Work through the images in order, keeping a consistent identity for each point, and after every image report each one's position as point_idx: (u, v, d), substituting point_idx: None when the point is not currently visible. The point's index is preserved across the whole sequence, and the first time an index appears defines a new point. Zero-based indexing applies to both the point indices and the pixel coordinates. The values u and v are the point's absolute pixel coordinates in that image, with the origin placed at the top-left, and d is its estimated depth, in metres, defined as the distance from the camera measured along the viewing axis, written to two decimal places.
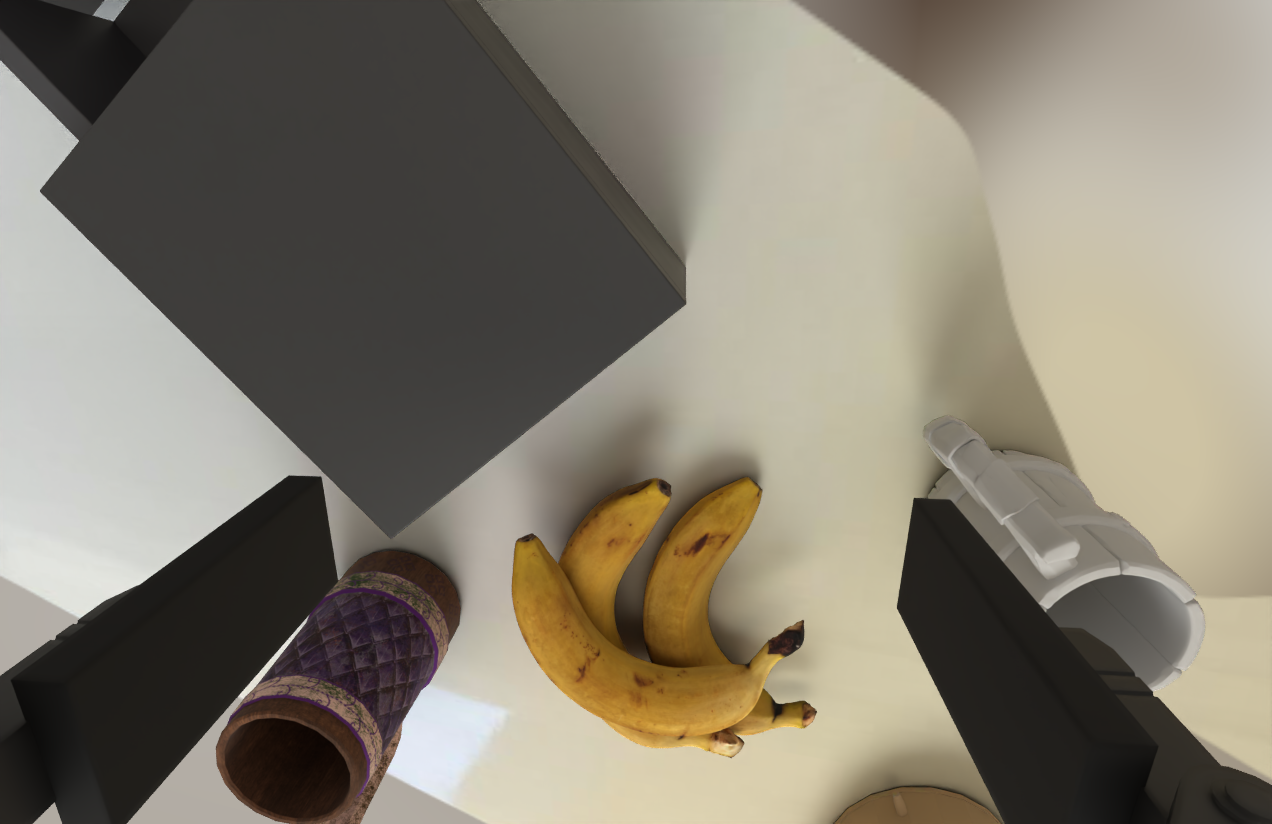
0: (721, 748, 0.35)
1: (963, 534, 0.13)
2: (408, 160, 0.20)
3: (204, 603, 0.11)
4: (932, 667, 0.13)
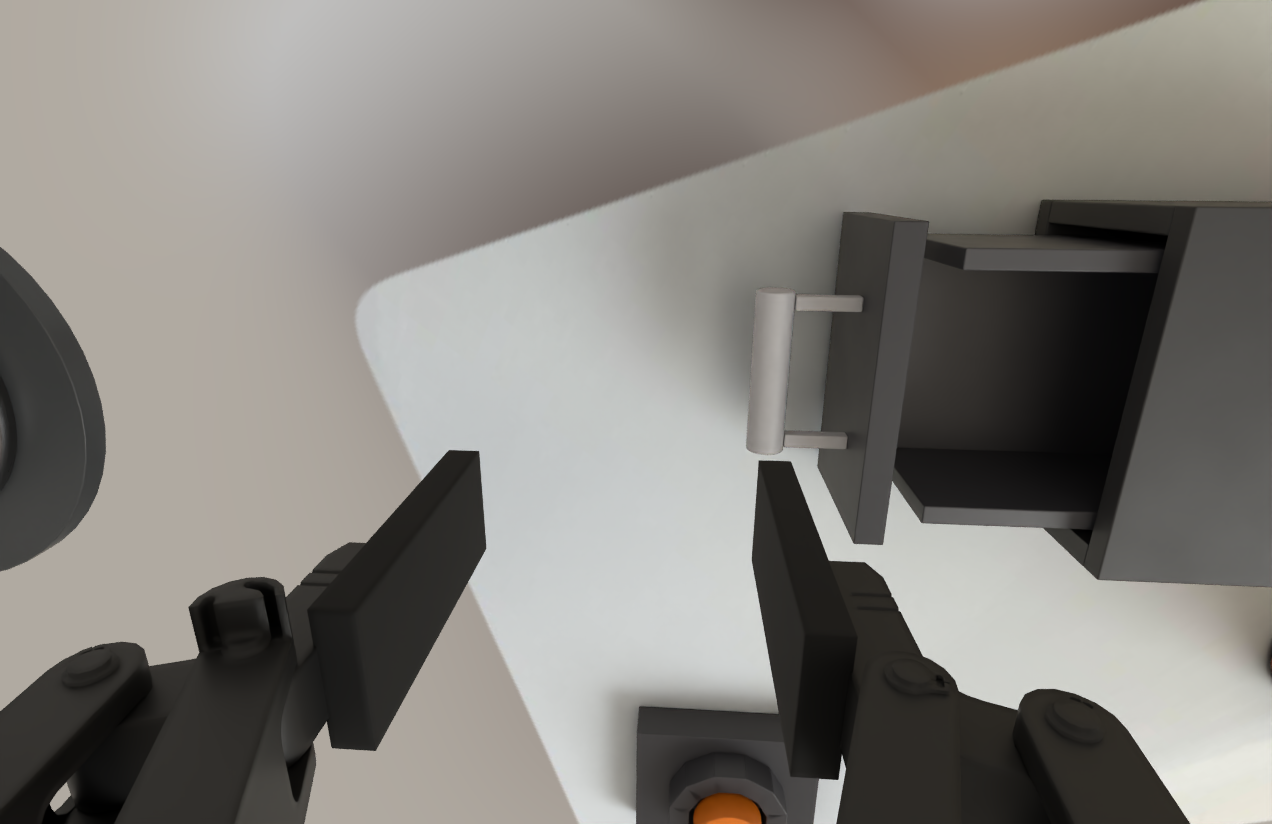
0: None
1: (787, 487, 0.14)
2: None
3: (420, 556, 0.13)
4: (762, 605, 0.15)
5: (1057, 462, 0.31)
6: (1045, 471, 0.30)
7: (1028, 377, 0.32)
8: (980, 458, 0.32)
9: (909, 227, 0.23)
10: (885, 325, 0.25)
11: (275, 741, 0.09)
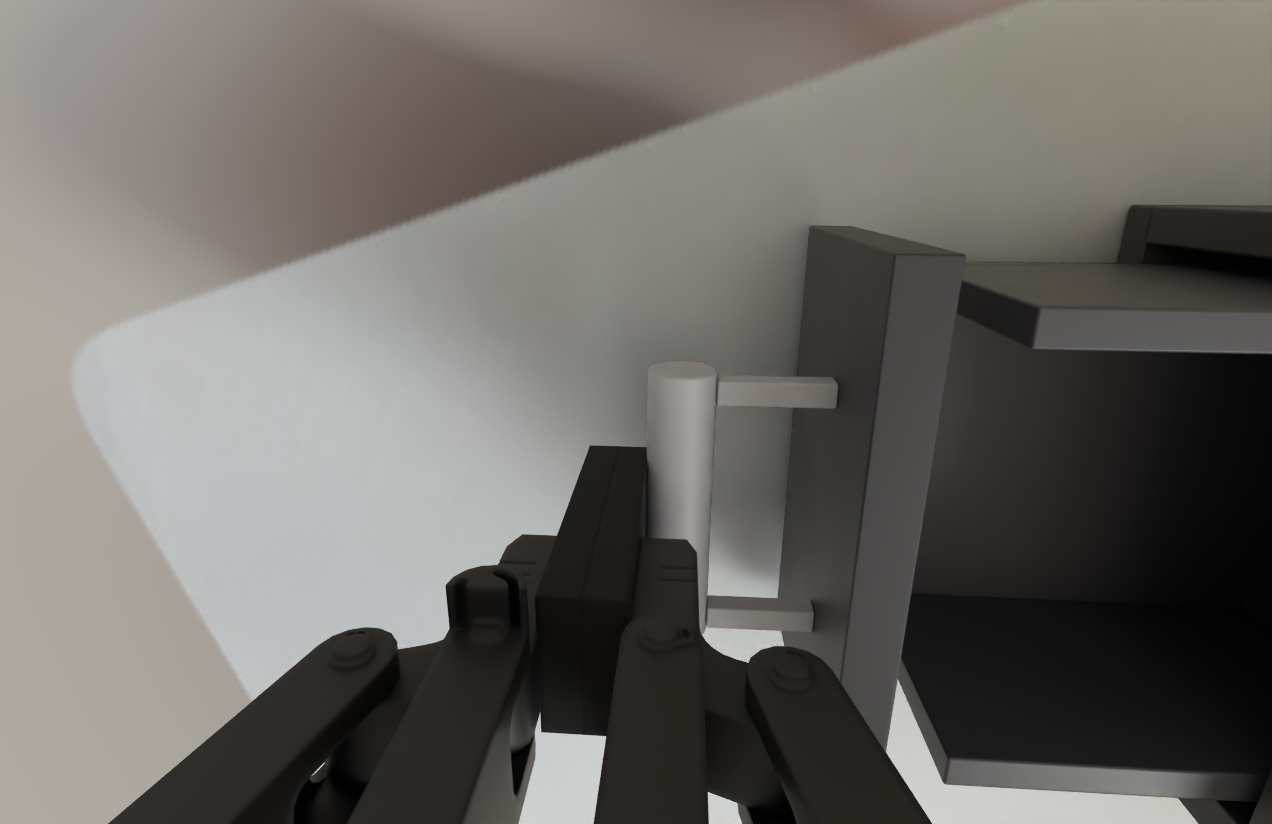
0: None
1: (632, 471, 0.15)
2: None
3: None
4: None
5: (1157, 629, 0.19)
6: (1143, 653, 0.18)
7: (1109, 491, 0.20)
8: (1032, 620, 0.20)
9: (925, 266, 0.11)
10: (876, 455, 0.12)
11: (505, 735, 0.09)
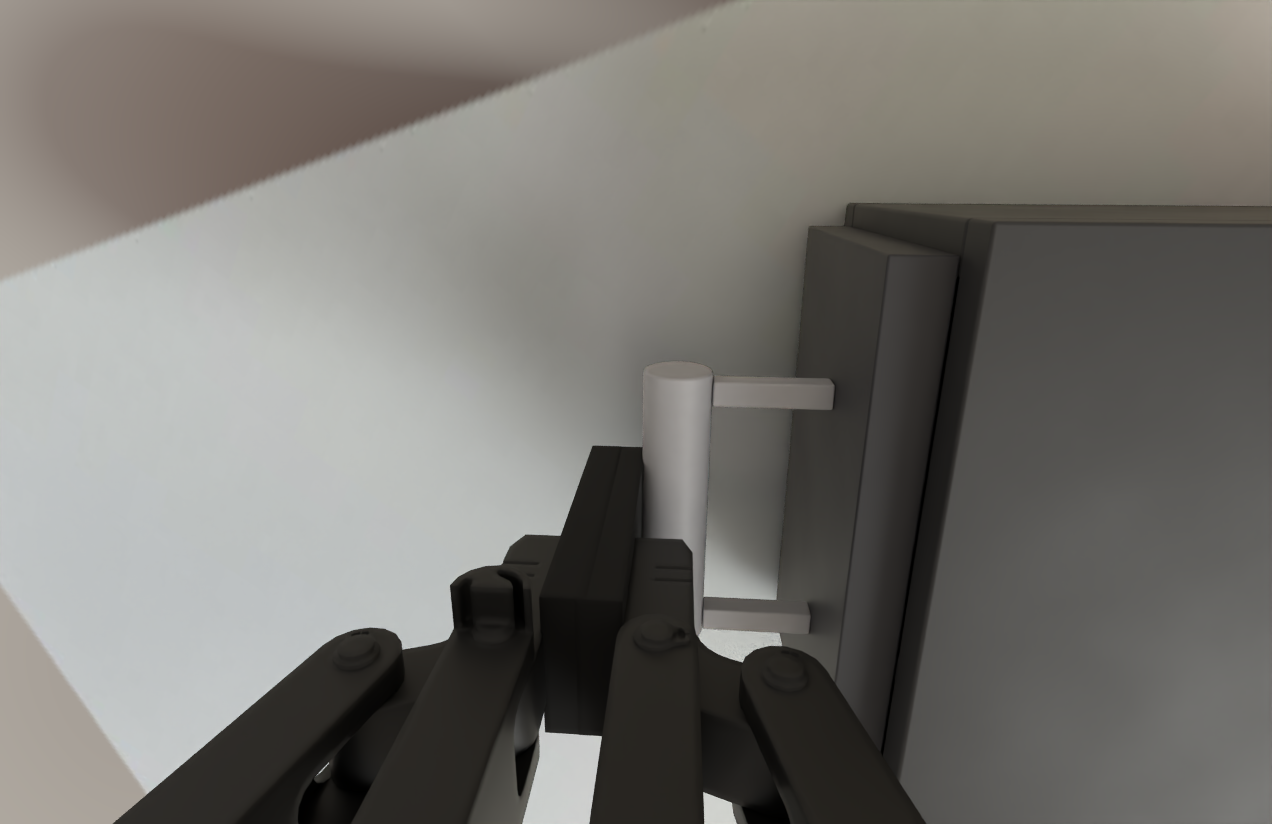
0: None
1: (628, 471, 0.15)
2: None
3: None
4: None
5: None
6: None
7: None
8: None
9: (919, 267, 0.11)
10: (870, 457, 0.12)
11: (509, 736, 0.09)
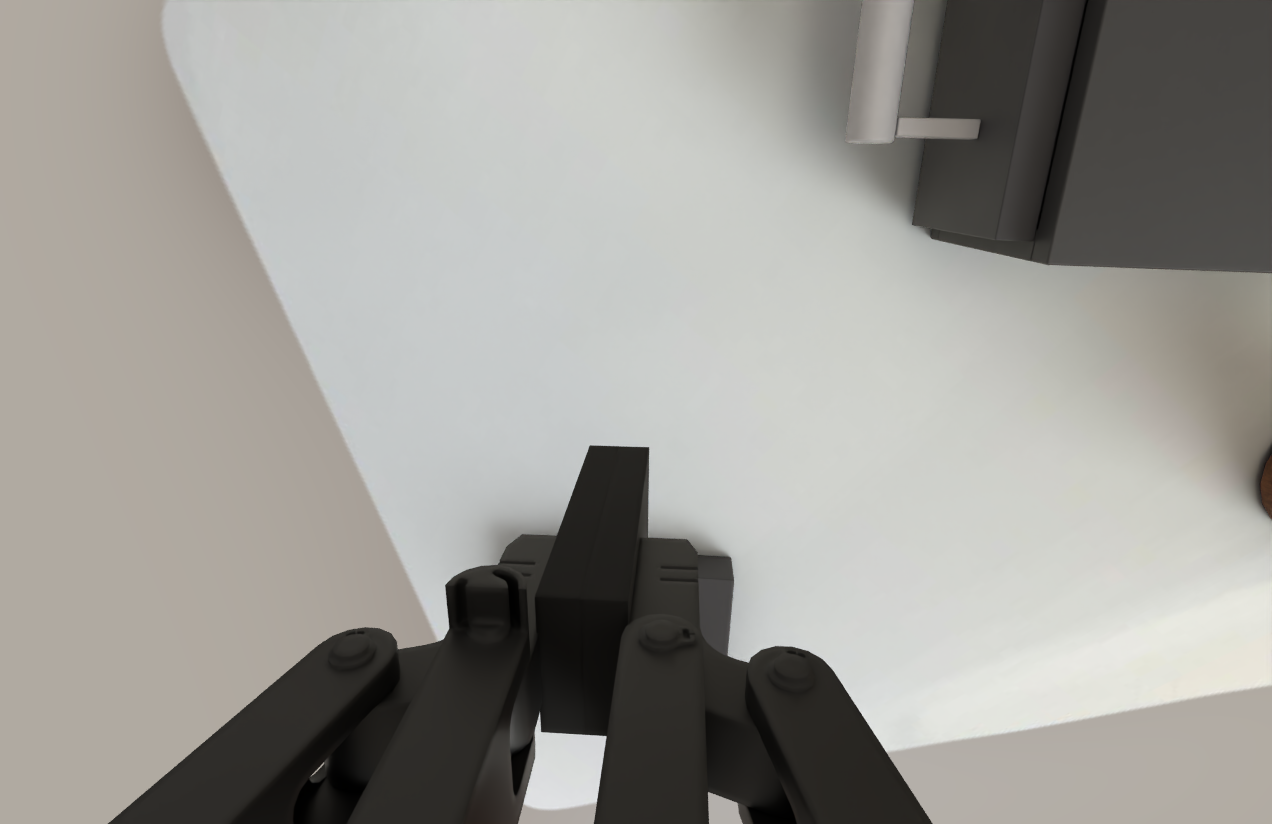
0: None
1: (632, 471, 0.15)
2: None
3: None
4: None
5: None
6: None
7: None
8: None
9: None
10: None
11: (504, 736, 0.09)
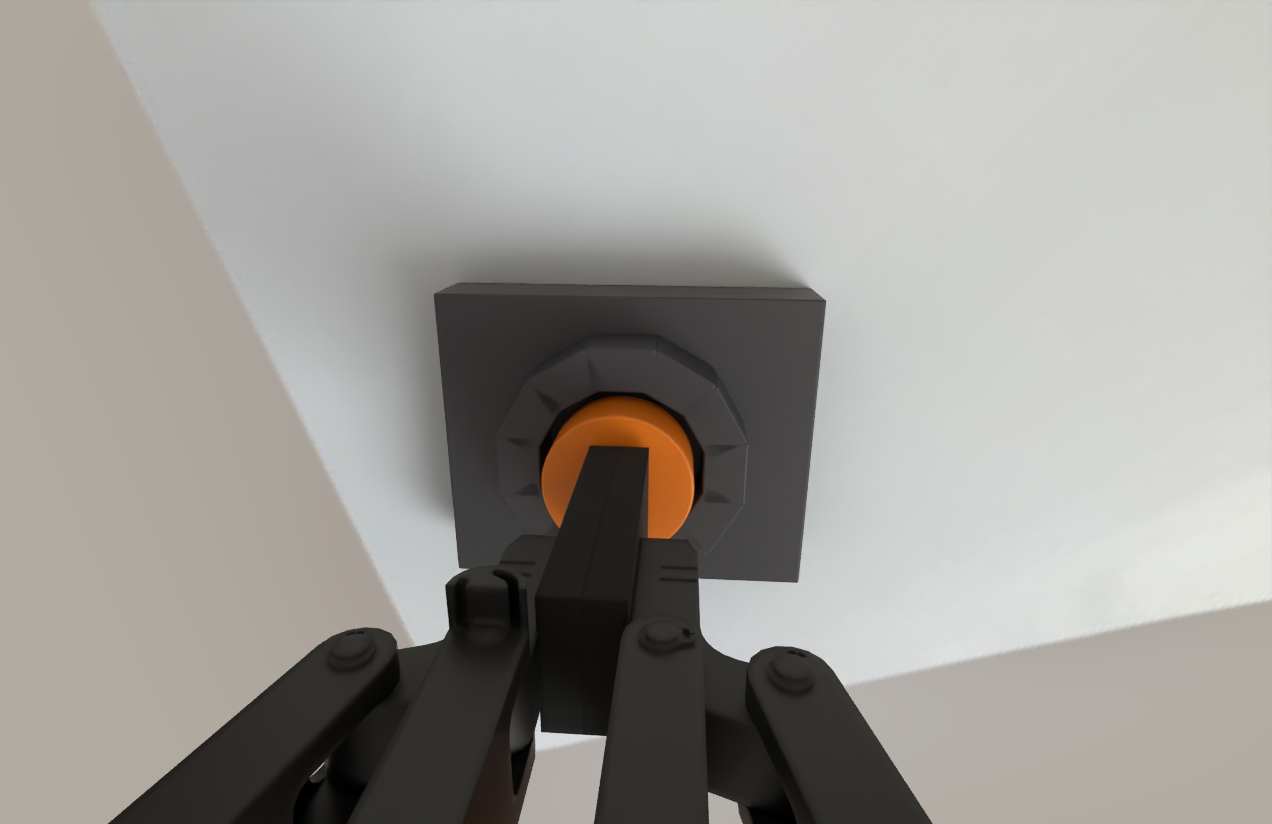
0: None
1: (632, 471, 0.15)
2: None
3: None
4: None
5: None
6: None
7: None
8: None
9: None
10: None
11: (504, 736, 0.09)
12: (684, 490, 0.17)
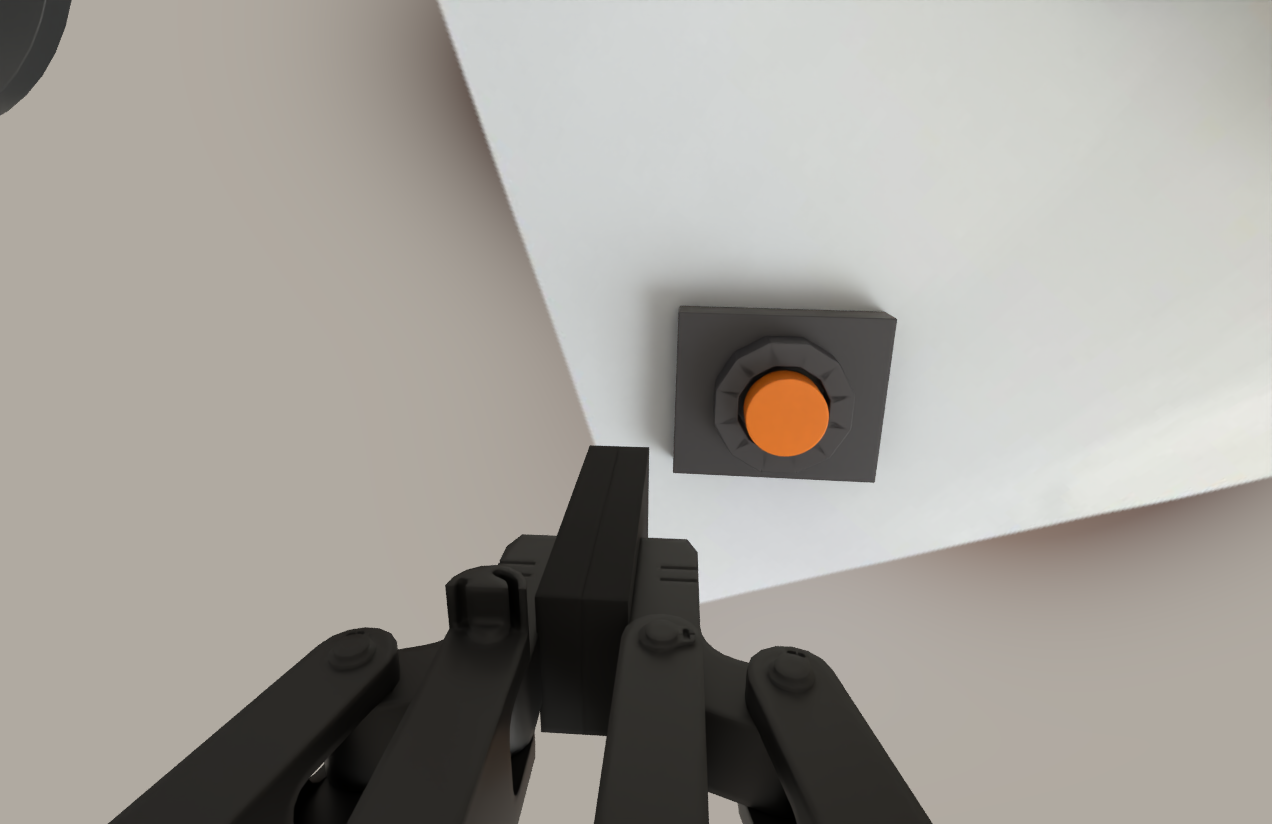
0: None
1: (632, 471, 0.15)
2: None
3: None
4: None
5: None
6: None
7: None
8: None
9: None
10: None
11: (504, 736, 0.09)
12: (823, 419, 0.32)
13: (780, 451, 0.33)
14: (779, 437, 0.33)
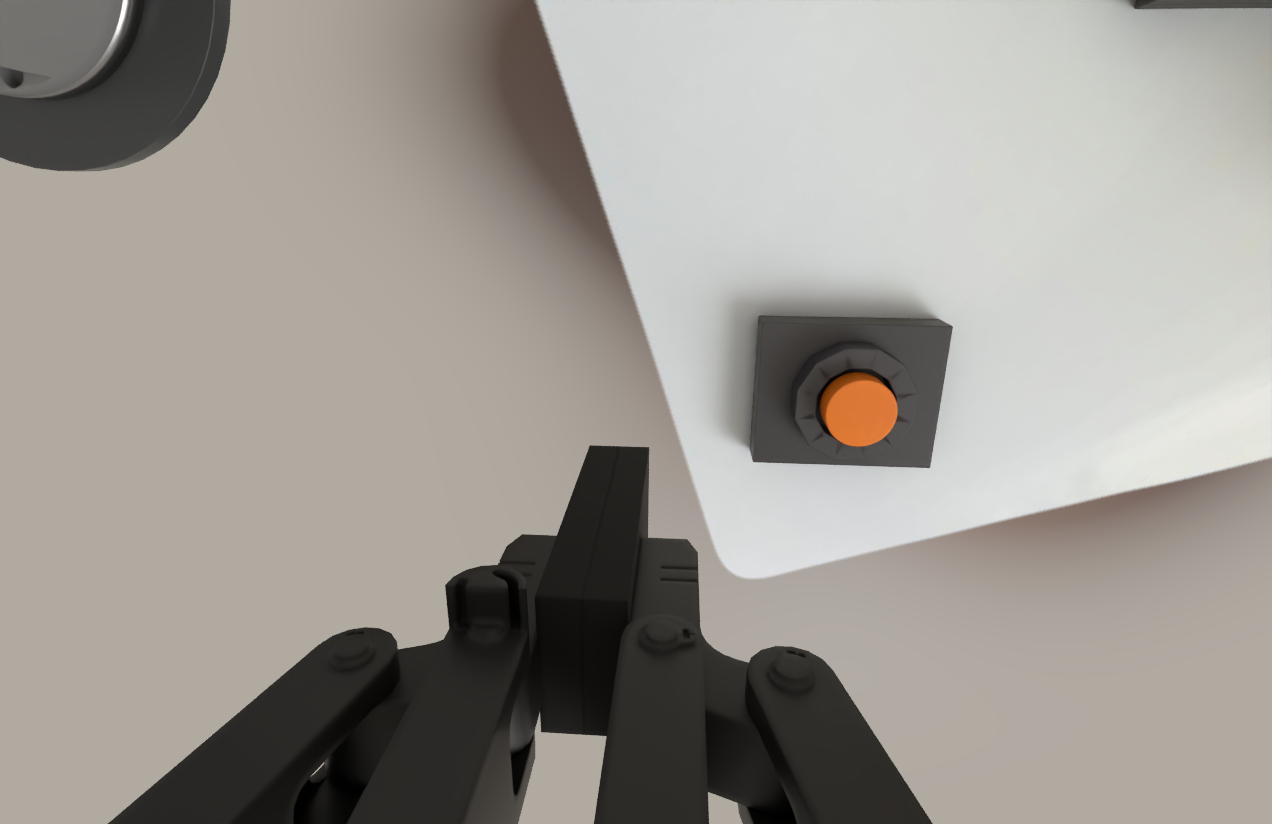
0: None
1: (632, 471, 0.15)
2: None
3: None
4: None
5: None
6: None
7: None
8: None
9: None
10: None
11: (504, 736, 0.09)
12: (893, 414, 0.38)
13: (854, 442, 0.38)
14: (854, 430, 0.38)
